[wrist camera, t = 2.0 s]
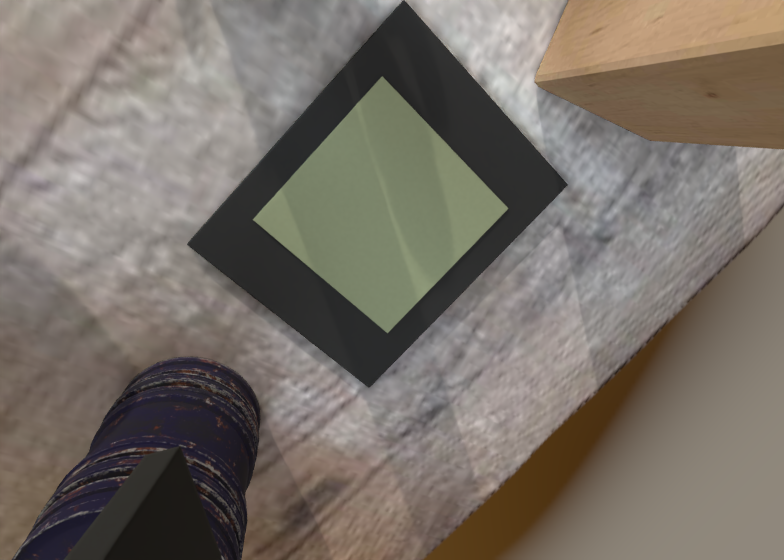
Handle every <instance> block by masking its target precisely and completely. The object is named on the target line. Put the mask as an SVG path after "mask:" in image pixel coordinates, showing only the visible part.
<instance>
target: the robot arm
mask: <svg viewBox="0 0 784 560" xmlns="http://www.w3.org/2000/svg"><path fill="white" fill-rule="evenodd" d="M221 556H222V555H221V553H220V550H219V547H218V545H217V542H216V539H215V537H214V534H213V531H212V529H211V526H210V523H209V521H208V518H207V515H206V513H205V510H204V507H203V505H202V502H201V499H200V497H199V494H198V491H197V489H196V486H195V484H194V481H193V478H192V476H191V473H190V470H189V468H188V465H187V462H186V460H185V457H184V454H183V452H182V449H181V446H178V447H174V448H170V449H166V450H163V451H159V452H155V453H151V454H147V455H145V456H144V457H143V459H142V460H141V461H140V462H139V464H138V465H137V466H136V468H135V469H134V470H133V471H132V473H131V474H130V475H129V477H128V478H127V479H126V480H125V482H124V483H123V484H122V486H121V487H120V488H119V489H118V491H117V492H116V493H115V495H114V496H113V497H112V498H111V500H110V501H109V502H108V504H107V505H106V506H105V507H104V509H103V510H102V511H101V513H100V514H99V515H98V516H97V518H96V519H95V520H94V522H93V523H92V524H91V525H90V527H89V528H88V529H87V530H86V532H85V533H84V534H83V536H82V537H81V538H80V539H79V541H78V542H77V543H76V545H75V546H74V547H73V548H72V550H71V551H70V552H69V554H68V555H67V556H66V557H65V559H64V560H220V559H221Z"/></svg>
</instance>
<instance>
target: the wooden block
mask: <svg viewBox="0 0 784 560" xmlns="http://www.w3.org/2000/svg"><path fill="white" fill-rule="evenodd" d="M535 83H536V84H537V85H538V87H540V88H542V89H544V90H546V91H548V92H550V93H552V94H554V95H557V96H559V97H561V98H563V99H565V100H567V101H569V102H571V103H573V104H575V105H577V106H579V107H581V108H583V109H586V110H588V111H590V112H592V113H594V114H596V115H598V116H600V117H602V118H604V119H606V120H608V121H610V122H613V123H615V124H617V125H619V126H621V127H623V128H625V129H627V130H629V131H631V132H633V133H635V134H637V135H639V136H642V137H644V138H646V139H648V140H650V141H663V142H679V143H694V144H709V145H725V146H740V147H756V148H771V149H784V0H569V1H568V3H567V5H566V8H565V10H564V12H563V14H562V17H561V19H560V21H559V24H558V26H557V28H556V30H555V33H554V35H553V37H552V40H551V42H550V44H549V46H548V49H547V51H546V53H545V56H544V58H543V60H542V62H541V65H540V67H539V69H538V72H537V74H536V76H535Z"/></svg>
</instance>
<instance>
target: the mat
mask: <svg viewBox="0 0 784 560" xmlns="http://www.w3.org/2000/svg"><path fill="white" fill-rule="evenodd" d="M566 186H567V184H566V183H565V181H564V180H563V179H562V178H561V177H560V176H559V175H558V173H557V172H556V171H555V170H554V169H553V168H552V167H551V166H550V164H549V163H548V162H547V161H546V160H545V159H544V158H543V157H542V155H541V154H540V153H539V152H538V151H537V150H536V149H535V147H534V146H533V145H532V144H531V143H530V142H529V141H528V140H527V138H526V137H525V136H524V135H523V134H522V133H521V132H520V131H519V129H518V128H517V127H516V126H515V125H514V124H513V123H512V121H511V120H510V119H509V118H508V117H507V116H506V115H505V114H504V112H503V111H502V110H501V109H500V108H499V107H498V106H497V105H496V103H495V102H494V101H493V100H492V99H491V98H490V97H489V95H488V94H487V93H486V92H485V91H484V90H483V89H482V88H481V86H480V85H479V84H478V83H477V82H476V81H475V80H474V79H473V77H472V76H471V75H470V74H469V73H468V72H467V71H466V69H465V68H464V67H463V66H462V65H461V64H460V63H459V62H458V60H457V59H456V58H455V57H454V56H453V55H452V54H451V53H450V51H449V50H448V49H447V48H446V47H445V46H444V45H443V43H442V42H441V41H440V40H439V39H438V38H437V37H436V36H435V34H434V33H433V32H432V31H431V30H430V29H429V28H428V26H427V25H426V24H425V23H424V22H423V21H422V20H421V19H420V17H419V16H418V15H417V14H416V13H415V12H414V11H413V10H412V8H411V7H410V6H409V5H408V4H407V3H406V2H405V1H404V0H403V1H402V2H401V4H400V5H399V6H398V7H397V8H396V9H395V10H394V11H393V13H392V14H391V15H390V16H389V17H388V18H387V19H386V20H385V22H384V23H383V24H382V25H381V26H380V27H379V28H378V29H377V31H376V32H375V33H374V34H373V35H372V36H371V37H370V38H369V40H368V41H367V42H366V43H365V44H364V45H363V46H362V48H361V49H360V50H359V51H358V52H357V53H356V54H355V55H354V57H353V58H352V59H351V60H350V61H349V62H348V63H347V64H346V66H345V67H344V68H343V69H342V70H341V71H340V72H339V73H338V75H337V76H336V77H335V78H334V79H333V80H332V81H331V82H330V84H329V85H328V86H327V87H326V88H325V89H324V90H323V91H322V93H321V94H320V95H319V96H318V97H317V98H316V99H315V100H314V102H313V103H312V104H311V105H310V106H309V107H308V108H307V109H306V111H305V112H304V113H303V114H302V115H301V116H300V117H299V118H298V120H297V121H296V122H295V123H294V124H293V125H292V126H291V127H290V129H289V130H288V131H287V132H286V133H285V134H284V135H283V136H282V138H281V139H280V140H279V141H278V142H277V143H276V144H275V145H274V147H273V148H272V149H271V150H270V151H269V152H268V153H267V155H266V156H265V157H264V158H263V159H262V160H261V161H260V162H259V164H258V165H257V166H256V167H255V168H254V169H253V170H252V171H251V173H250V174H249V175H248V176H247V177H246V178H245V179H244V180H243V182H242V183H241V184H240V185H239V186H238V187H237V188H236V189H235V191H234V192H233V193H232V194H231V195H230V196H229V197H228V198H227V200H226V201H225V202H224V203H223V204H222V205H221V206H220V207H219V209H218V210H217V211H216V212H215V213H214V214H213V215H212V216H211V218H210V219H209V220H208V221H207V222H206V223H205V224H204V225H203V227H202V228H201V229H200V230H199V231H198V232H197V233H196V234H195V236H194V237H193V238H192V239H191V240H190V241H189V242H188V243H187V245H188V246H190V247H191V248H192V249H193V250H195V251H196V252H197V253H198V254H200V255H201V256H202V257H204V258H205V259H206V260H207V261H209V262H210V263H211V264H212V265H214V266H215V267H216V268H218V269H219V270H220V271H221V272H223V273H224V274H225V275H226V276H228V277H229V278H230V279H232V280H233V281H234V282H235V283H237V284H238V285H239V286H240V287H242V288H243V289H244V290H246V291H247V292H248V293H249V294H251V295H252V296H253V297H254V298H256V299H257V300H258V301H259V302H261V303H262V304H263V305H265V306H266V307H267V308H268V309H270V310H271V311H272V312H273V313H275V314H276V315H277V316H279V317H280V318H281V319H282V320H284V321H285V322H286V323H287V324H289V325H290V326H291V327H293V328H294V329H295V330H296V331H298V332H299V333H300V334H301V335H303V336H304V337H305V338H307V339H308V340H309V341H310V342H312V343H313V344H314V345H315V346H317V347H318V348H319V349H321V350H322V351H323V352H324V353H326V354H327V355H328V356H329V357H331V358H332V359H333V360H334V361H336V362H337V363H338V364H340V365H341V366H342V367H343V368H345V369H346V370H347V371H348V372H350V373H351V374H352V375H354V376H355V377H356V378H357V379H359V380H360V381H361V382H362V383H364V384H365V385H366V386H368V387H370V386H371V385H372V384H373V383H374V382H375V381H376V380H377V379H378V378H379V377H380V376H381V375H382V374H383V373H384V372H385V371H386V370H387V369H388V368H389V367H390V366H391V365H392V364H393V363H394V362H395V361H396V360H397V359H398V358H399V357H400V356H401V355H402V354H403V353H404V352H405V351H406V350H407V349H408V348H409V347H410V346H411V345H412V344H413V343H414V342H415V340H416V339H417V338H418V337H419V336H420V335H421V334H422V333H423V332H424V331H425V330H426V329H427V328H428V327H429V326H430V325H431V324H432V323H433V322H434V321H435V320H436V319H437V318H438V317H439V316H440V315H441V314H442V313H443V312H444V311H445V310H446V309H447V308H448V307H449V306H450V305H451V304H452V303H453V302H454V301H455V300H456V299H457V298H458V297H459V296H460V295H461V294H462V293H463V292H464V290H465V289H466V288H467V287H468V286H469V285H470V284H471V283H472V282H473V281H474V280H475V279H476V278H477V277H478V276H479V275H480V274H481V273H482V272H483V271H484V270H485V269H486V268H487V267H488V266H489V265H490V264H491V263H492V262H493V261H494V260H495V259H496V258H497V257H498V256H499V255H500V254H501V253H502V252H503V251H504V250H505V249H506V248H507V247H508V246H509V245H510V244H511V243H512V242H513V240H514V239H515V238H516V237H517V236H518V235H519V234H520V233H521V232H522V231H523V230H524V229H525V228H526V227H527V226H528V225H529V224H530V223H531V222H532V221H533V220H534V219H535V218H536V217H537V216H538V215H539V214H540V213H541V212H542V211H543V210H544V209H545V208H546V207H547V206H548V205H549V204H550V203H551V202H552V201H553V200H554V199H555V198H556V197H557V196H558V195H559V194H560V193H561V192H562V190H563V189H564V188H565V187H566Z"/></svg>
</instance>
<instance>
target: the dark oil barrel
mask: <svg viewBox="0 0 784 560" xmlns="http://www.w3.org/2000/svg"><path fill="white" fill-rule="evenodd" d="M259 426H260V409H259V404H258V401H257V398H256V396H255V394H254V392H253V390H252V389H251V387H250V386H249V384H248V383H247V382H246V381H245V380H244V379H243V378H242V377H241V376H240V375H239V374H238V373H236V372H235V371H234V370H232V369H230V368H229V367H227V366H225V365H223V364H221V363H218V362H216V361H213V360H209V359H205V358H198V357H178V358H172V359H167V360H164V361H161V362H158V363H156V364H154V365H152V366H150V367H148V368H146V369H145V370H144V371H142V372H141V373H139V374H138V375H137V376H136V377H135V378H134V379H133V380H132V381H131V382H130V384H129V385H128V387H127V388H126V389H125V391H124V392H123V394H122V395H121V396H120V397H119V398H118V399H117V400H116V402H115V403H114V404H113V406H112V407H111V409H110V410H109V412H108V413H107V415H106V416H105V418H104V420H103V422H102V424H101V426H100V428H99V430H98V431H97V433H96V435H95V437H94V439H93V441H92V443H91V446H90V450H89V453H88V454H87V456H86V457H85V458H84V459H83V460H82V461H81V462H80V463H79V464H78V465H76V466H75V467H74V468H73V469H72V470H71V471H70V472H69V473H68V474H67V475H66V476H65V478H64V479H63V480H62V482H61V483H60V484H59V486H58V487H57V490H56V492H55V493H54V494H53V496H52V497H51V498H50V500H49V501H48V503H47V504H46V506H45V507H44V508H43V510H42V511H41V513H40V514H39V516H38V518H37V520H36V522H35V524H34V526H33V528H32V530H31V532H30V533H29V535H28V537H27V539H26V540H25V541H24V543H23V544H22V546H21V547H20V548H19V550H18V551H17V553H16V554H15V556H14V557H13V559H12V560H64V559H65V557H66V556H67V555H68V554H69V552H70V551H71V550H72V548H73V547H74V546H75V545H76V543H77V542H78V541H79V539H80V538H81V537H82V536H83V534H84V533H85V532H86V530H87V529H88V528H89V527H90V525H91V524H92V523H93V522H94V520H95V519H96V518H97V516H98V515H99V514H100V513H101V511H102V510H103V509H104V507H105V506H106V505H107V504H108V502H109V501H110V500H111V498H112V497H113V496H114V495H115V493H116V492H117V491H118V489H119V488H120V487H121V486H122V484H123V483H124V482H125V480H126V479H127V478H128V477H129V475H130V474H131V473H132V471H133V470H134V469H135V468H136V466H137V465H138V464H139V462H140V461H141V460H142V459H143V457H144V456H145V455H147V454H151V453H155V452H159V451H163V450H166V449H170V448H174V447H178V446H181V449H182V452H183V454H184V457H185V460H186V462H187V465H188V468H189V470H190V473H191V476H192V478H193V481H194V484H195V486H196V489H197V491H198V494H199V497H200V499H201V502H202V505H203V507H204V510H205V513H206V515H207V518H208V521H209V523H210V526H211V529H212V531H213V534H214V537H215V539H216V542H217V545H218V547H219V550H220V553H221V555H222V556H221V559H220V560H241V558H242V551H243V544H244V538H245V533H246V526H247V508H246V499H245V492H246V490H247V488H248V486H249V484H250V481H251V478H252V474H253V470H254V466H255V462H256V457H257V450H258V443H259Z"/></svg>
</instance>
